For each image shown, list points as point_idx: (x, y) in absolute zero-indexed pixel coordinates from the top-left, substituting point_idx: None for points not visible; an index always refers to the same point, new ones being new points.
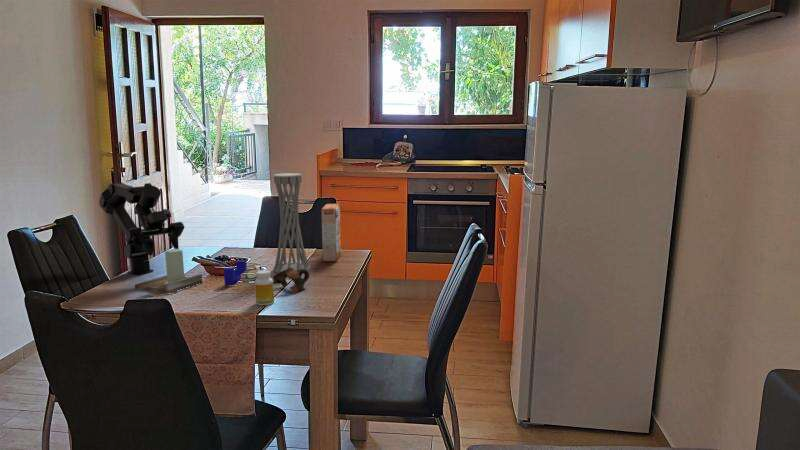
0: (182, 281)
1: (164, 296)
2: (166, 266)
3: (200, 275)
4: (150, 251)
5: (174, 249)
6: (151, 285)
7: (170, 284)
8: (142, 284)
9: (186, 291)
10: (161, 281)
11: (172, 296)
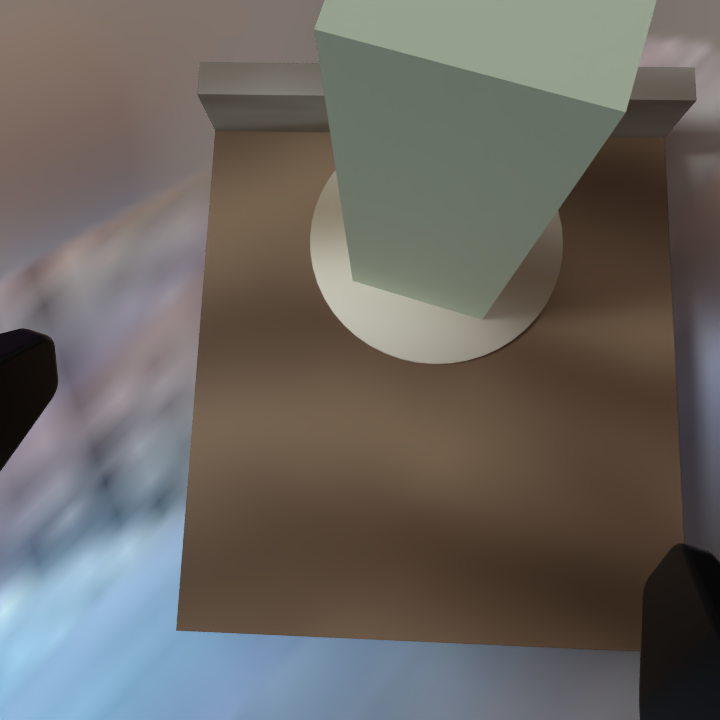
0: None
1: (716, 115)
2: (529, 247)
3: (222, 70)
4: (718, 596)
5: (401, 13)
6: (618, 429)
7: (661, 72)
8: (640, 566)
9: None
10: (446, 459)
11: (679, 52)
